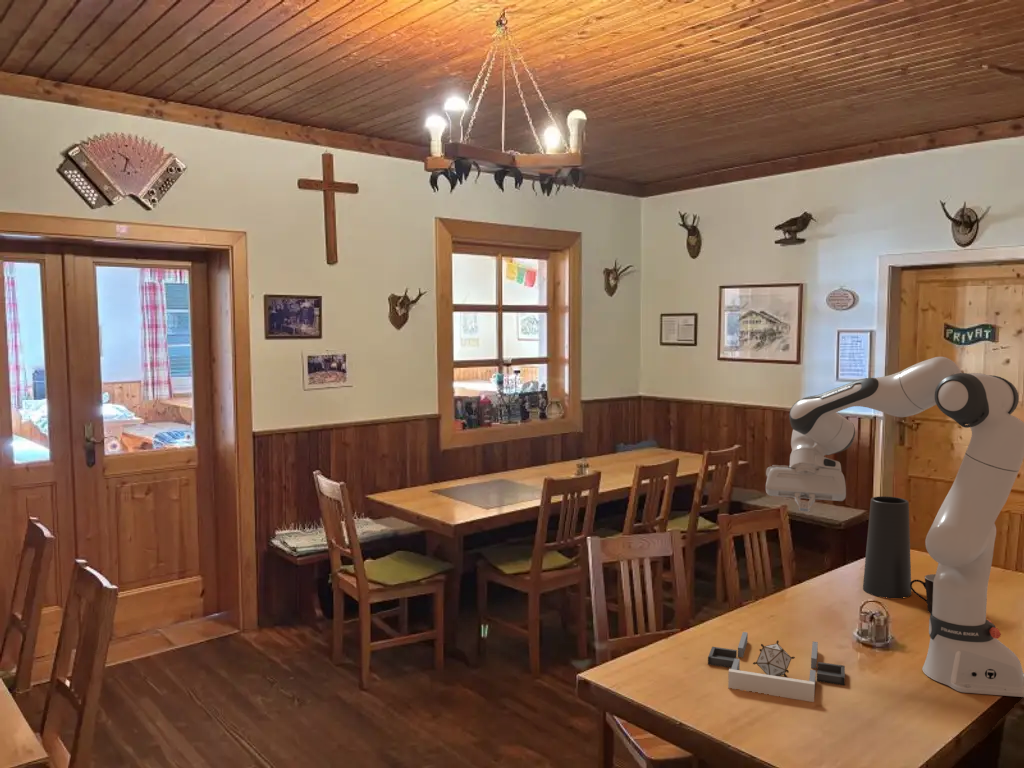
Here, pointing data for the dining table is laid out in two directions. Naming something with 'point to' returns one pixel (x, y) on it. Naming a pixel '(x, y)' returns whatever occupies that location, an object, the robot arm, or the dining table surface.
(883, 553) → the vase
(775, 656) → the game die
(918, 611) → the dining table surface
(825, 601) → the dining table surface
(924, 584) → the coffee mug
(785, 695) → the trap lane
